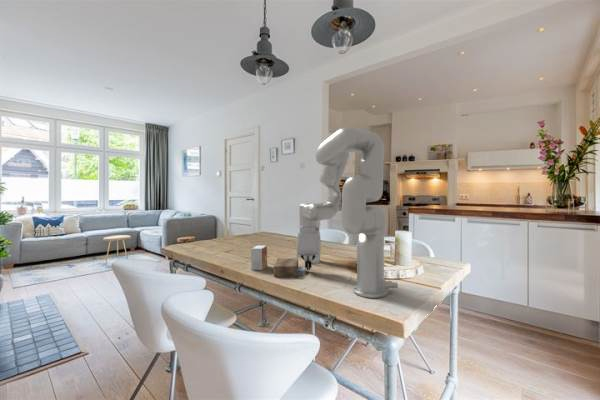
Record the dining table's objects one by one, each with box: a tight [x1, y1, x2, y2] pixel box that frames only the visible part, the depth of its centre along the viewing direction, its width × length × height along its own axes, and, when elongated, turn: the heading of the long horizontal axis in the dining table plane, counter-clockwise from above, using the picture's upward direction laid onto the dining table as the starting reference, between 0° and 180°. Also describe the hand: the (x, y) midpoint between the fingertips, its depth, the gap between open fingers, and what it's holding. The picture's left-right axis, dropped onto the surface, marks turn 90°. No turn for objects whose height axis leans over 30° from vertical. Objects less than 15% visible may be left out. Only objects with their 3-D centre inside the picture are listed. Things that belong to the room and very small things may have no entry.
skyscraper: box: [306, 220, 322, 265], centre depth 143 cm, size 8×8×28 cm
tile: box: [297, 266, 306, 276], centre depth 124 cm, size 12×6×2 cm, turn 89°
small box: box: [250, 244, 268, 271], centre depth 133 cm, size 8×6×10 cm
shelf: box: [273, 257, 302, 278], centre depth 125 cm, size 12×14×5 cm
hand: (308, 269), depth 125 cm, fingers closed
